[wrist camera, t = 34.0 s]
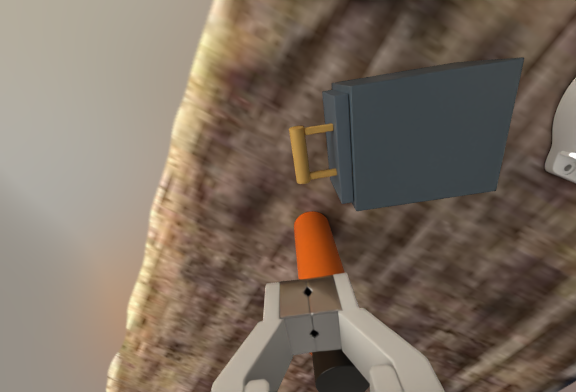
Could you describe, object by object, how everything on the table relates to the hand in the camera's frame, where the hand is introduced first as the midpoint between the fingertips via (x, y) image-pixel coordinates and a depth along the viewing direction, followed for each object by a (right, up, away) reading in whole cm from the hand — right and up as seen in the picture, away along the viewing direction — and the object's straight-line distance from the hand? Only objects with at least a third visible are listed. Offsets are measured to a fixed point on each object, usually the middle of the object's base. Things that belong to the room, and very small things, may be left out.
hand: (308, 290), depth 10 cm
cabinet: (+11, +12, +20) cm, 26 cm away
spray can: (+3, -1, +26) cm, 26 cm away
